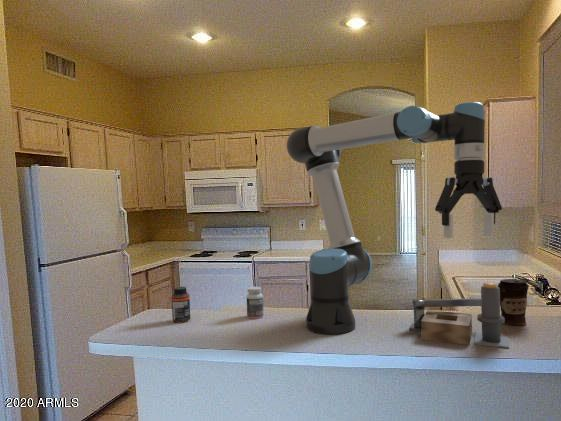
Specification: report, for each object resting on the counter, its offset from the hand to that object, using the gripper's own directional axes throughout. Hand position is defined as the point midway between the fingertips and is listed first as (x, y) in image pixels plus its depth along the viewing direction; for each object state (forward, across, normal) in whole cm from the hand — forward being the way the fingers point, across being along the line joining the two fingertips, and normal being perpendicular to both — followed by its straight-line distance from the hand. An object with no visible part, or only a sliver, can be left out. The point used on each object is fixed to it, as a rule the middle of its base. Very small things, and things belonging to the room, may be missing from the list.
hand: (468, 236), depth 111 cm
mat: (+27, +2, -6) cm, 28 cm away
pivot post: (+28, -9, +10) cm, 31 cm away
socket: (+28, -5, +2) cm, 28 cm away
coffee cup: (+28, +20, +4) cm, 34 cm away
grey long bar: (+21, -1, +7) cm, 23 cm away
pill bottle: (+29, -52, +41) cm, 73 cm away
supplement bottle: (+30, -76, +46) cm, 94 cm away
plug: (+27, +2, -6) cm, 28 cm away
